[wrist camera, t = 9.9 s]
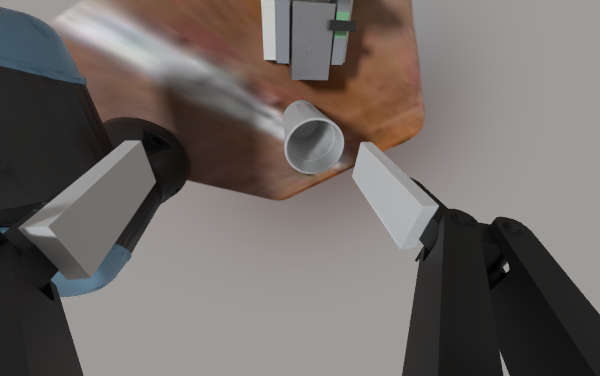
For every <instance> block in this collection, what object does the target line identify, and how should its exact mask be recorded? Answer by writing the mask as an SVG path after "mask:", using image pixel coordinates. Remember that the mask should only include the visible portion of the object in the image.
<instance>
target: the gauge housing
mask: <svg viewBox="0 0 600 376" xmlns="http://www.w3.org/2000/svg"><path fill="white" fill-rule="evenodd" d="M292 1H303V2H317V3H331V4H336V7H335V17H334V20H346V21H351V13H352V6H353V0H261V7H262V27H263V47H264V60H276V61H277V63H288V64H289V8H290V3H291V2H292ZM348 35H349V31H333V36H332V46H331V56H330V64H331V65H342V63H343V62H345V57H346V50H347V42H348Z"/></svg>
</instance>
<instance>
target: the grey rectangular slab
mask: <svg viewBox="0 0 600 376" xmlns="http://www.w3.org/2000/svg"><path fill="white" fill-rule="evenodd" d="M335 7H336V4H331V3H317V2H303V1H292V2H291V3H290V8H289V76H290V78H291V79H292V80H328V75H329V65H330V56H331V46H332V36H333V31H350V32H355V27H356V21H346V20H334V17H335Z"/></svg>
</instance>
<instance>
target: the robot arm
mask: <svg viewBox="0 0 600 376" xmlns="http://www.w3.org/2000/svg"><path fill="white" fill-rule="evenodd" d="M86 84H87V81H86V79H85V78H83V77H82V76H81V74H80V72H79V70H78V68H77V66H76V64H75V62H74V60H73V58H72V56H71V55H70V53H69V51H68V49H67V47H66V45H65V43H64V41H63V40H62V38H61V37H60V36H59V34H58V33H57V32H56V31H55V30H54V29H53V28H52V27H50V26H49V25H48V24H46V23H45V22H43V21H42V20H40V19H38V18H36V17H34V16H31V15H29V14H26V13H23V12H19V11H15V10H11V9H6V8H2V7H0V376H83V372H82V369H81V366H80V362H79V359H78V356H77V353H76V349H75V346H74V343H73V339H72V336H71V333H70V330H69V326H68V323H67V320H66V316H65V313H64V310H63V306H62V303H61V300H60V297H69V296H77V295H82V294H87V293H90V292H93V291H96V290H99V289H100V288H103V287H104V286H106V285H107V284H108V283H110V282H111V281H112V280H113V279H114V278H115V277H116V276H117V274H118V273H119V272H120V270H121V269H122V268H123V266H124V265H125V263H126V262H127V261H129V260H130V258H131V253H132V251H133V250H134V248H135V246H136V245H137V243H138V241H139V239H140V238H141V236H142V234H143V233H144V231H145V229H146V228H147V226H148V224H149V222H150V221H151V219H152V217H153V216H154V214H155V212H156V210H157V209H158V207H159V205H160V204H162V203H163V202H165V201H166V200H167V199H169V198H170V197H172V196H173V195H175V194H176V193H178V191H179V190H181V188H182V187H183V186H184V184H185V182H186V180H187V178H188V176H189V172H190V163H189V159H188V156H187V153H186V151H185V150H184V148H183V147H182V145H181V144H180V143H179V141H178V140H177V139H176V138H175V137H174V136H172V135H171V134H170V133H169V132H167V131H166V130H164V129H163V128H161V127H159V126H157V125H155V124H153V123H151V122H148V121H145V120H141V119H137V118H129V117H121V118H114V119H110V120H107V121H105V122H103V123H102V121H101V119H100V116H99V114H98V112H97V110H96V107H95V105H94V103H93V101H92V98H91V96H90V94H89V92H88V89H87V87H86ZM352 178H353V179H354V181H355V182H356V184H357V185H358V187H359V188H360V190H361V191H362V193H363V194H364V196H365V197H366V199H367V200H368V202H369V203H370V205H371V206H372V208H373V209H374V211H375V212H376V214H377V215H378V217H379V218H380V220H381V221H382V223H383V224H384V226H385V227H386V229H387V230H388V232H389V233H390V235H391V236H392V238H393V239H394V241H395V242H396V244H397V245H398V247H399V248H400V249H411V248H415V246H416V244H417V242H418V241H419V240H420V241H421V242H422V243H423V245H424V247H423V248H422V250H421V251H420V253H419V255H418V256H417V258H416V260H415V261H418V260H419V259H420V260H419V268H418V274H417V281H416V287H415V294H414V300H413V307H412V314H411V320H410V327H409V333H408V340H407V347H406V353H405V361H404V367H403V373H402V376H503V371H502V364H501V359H500V352H501V354H502V357H503V360H504V362H505V365H506V367H507V370H508V372H509V375H510V376H600V314H599V313H598V312H597V311H596V310H595V308H594V307H593V306H592V305H591V303H590V302H589V301H588V300H587V299H586V297H585V296H584V295H583V294H582V293H581V291H580V290H579V289H578V288H577V286H576V285H575V284H574V283H573V282H572V280H571V279H570V278H569V277H568V276H567V274H566V273H565V272H564V270H563V269H562V268H561V267H560V266H559V264H558V263H557V262H556V261H555V260H554V258H553V257H552V256H551V255H550V253H549V252H548V251H547V250H546V248H545V247H544V246H543V245H542V244H541V242H540V241H539V240H538V239H537V238H536V236H535V235H534V234H533V233H532V231H531V230H529V229H528V228H527V227H526V226H524V225H523V224H522V223H520V222H518V221H516V220H514V219H510V218H506V217H497V218H496V219H495V220H494V221H493V222H492V224H491V225H489V224H484V223H478V222H477V220H475V219H474V218H473V217H472V216H470V215H469V214H467V213H465V212H463V211H461V210H457V209H448V208H447V207H446V206H445V205H444V204H443V203H441V202H440V201H439V200H438V199H437V198H436V197H435V196H434V195H433V194H431V193H430V192H429V191H428V190H427V189H425V187H424V186H423V185H422V184H421V183H419V182H418V181H416V180H414V179H413V178H410V177H408V176H407V175H406V174H405V173H404V172H403V171H402V170H401V169H400V168H399V167H398V166H397V165H395V164H394V163H393V162H392V161H391V160H390V159H389V158H388V157H387V156H386V155H385V154H384V153H383V152H382V151H381V150H380V149H378V148H377V147H376V146H375V145H374V144H373V143H372V142H361V144H360V148H359V152H358V156H357V160H356V164H355V167H354V171H353V175H352ZM507 262H508V264H509V271H508V272H507V273H506V272H505V270H504V269H503V266H504V265H505V264H506V263H507ZM499 350H500V352H499Z"/></svg>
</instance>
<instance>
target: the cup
mask: <svg viewBox="0 0 600 376" xmlns="http://www.w3.org/2000/svg"><path fill="white" fill-rule="evenodd" d="M283 122H284V129H285V155H286V158H287V160H288V162H289V163H290V165H291V166H292V167H293V168H295V169H296V170H298V171H300V172H303V173H307V174H315V173H320V172H323V171H325V170H327V169H329V168H331V167H332V166H333V165H334V164H335V163H336V162H337V161H338V160H339V158H340V156H341V154H342V152H343V148H344V137H343V134H342V131H341V130H340V128H339V127H338V126H337V125H336V124H335V123H334V122H332V121H331V120H330V119H329V118H327V117H326V116H324V115H323V114H322V113H321V112H320V111H319V110H317V109H316V107H315V106H314V105H313V104H312V103H310V102H308V101H305V100H299V101H295V102H293V103H292V104H290V105H289V106H288V107H287V109H286V110H285V113H284V117H283Z"/></svg>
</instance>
